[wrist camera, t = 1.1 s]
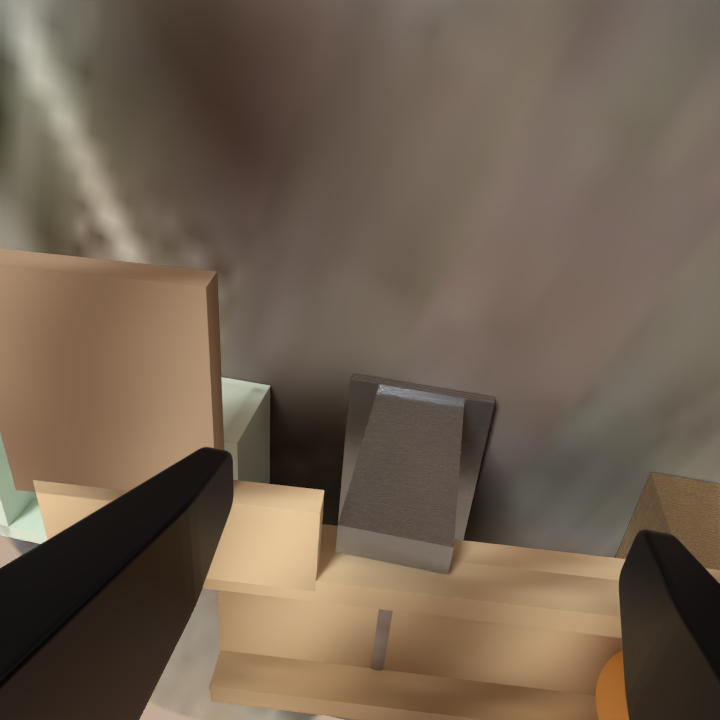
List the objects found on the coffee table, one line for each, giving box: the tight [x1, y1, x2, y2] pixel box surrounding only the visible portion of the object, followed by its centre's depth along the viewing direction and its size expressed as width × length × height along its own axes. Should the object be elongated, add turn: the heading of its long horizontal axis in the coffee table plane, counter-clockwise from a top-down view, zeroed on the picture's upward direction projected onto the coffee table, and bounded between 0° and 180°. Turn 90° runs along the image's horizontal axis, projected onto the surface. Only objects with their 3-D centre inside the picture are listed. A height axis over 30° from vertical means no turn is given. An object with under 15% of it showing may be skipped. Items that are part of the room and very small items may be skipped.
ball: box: [595, 650, 629, 720], centre depth 17 cm, size 3×3×3 cm
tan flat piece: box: [0, 249, 720, 720], centre depth 16 cm, size 20×14×3 cm
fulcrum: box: [332, 374, 720, 720], centre depth 21 cm, size 13×9×7 cm
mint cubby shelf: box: [0, 377, 270, 544], centre depth 24 cm, size 10×7×4 cm
